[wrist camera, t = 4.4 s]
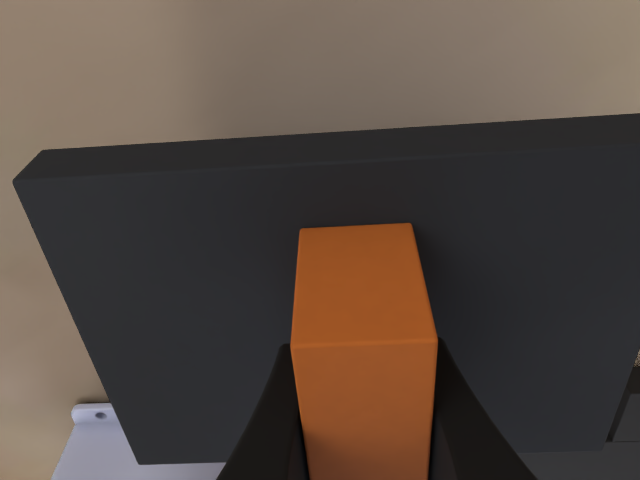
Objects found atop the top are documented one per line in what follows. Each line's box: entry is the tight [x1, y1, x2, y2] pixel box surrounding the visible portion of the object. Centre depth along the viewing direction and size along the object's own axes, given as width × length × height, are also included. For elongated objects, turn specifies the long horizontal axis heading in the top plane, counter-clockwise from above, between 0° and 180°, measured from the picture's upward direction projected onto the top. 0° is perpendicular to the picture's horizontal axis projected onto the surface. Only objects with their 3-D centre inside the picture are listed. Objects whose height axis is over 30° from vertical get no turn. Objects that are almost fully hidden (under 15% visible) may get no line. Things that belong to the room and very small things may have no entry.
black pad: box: [517, 367, 640, 480], centre depth 28 cm, size 14×14×2 cm
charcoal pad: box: [13, 113, 640, 480], centre depth 14 cm, size 14×13×5 cm
